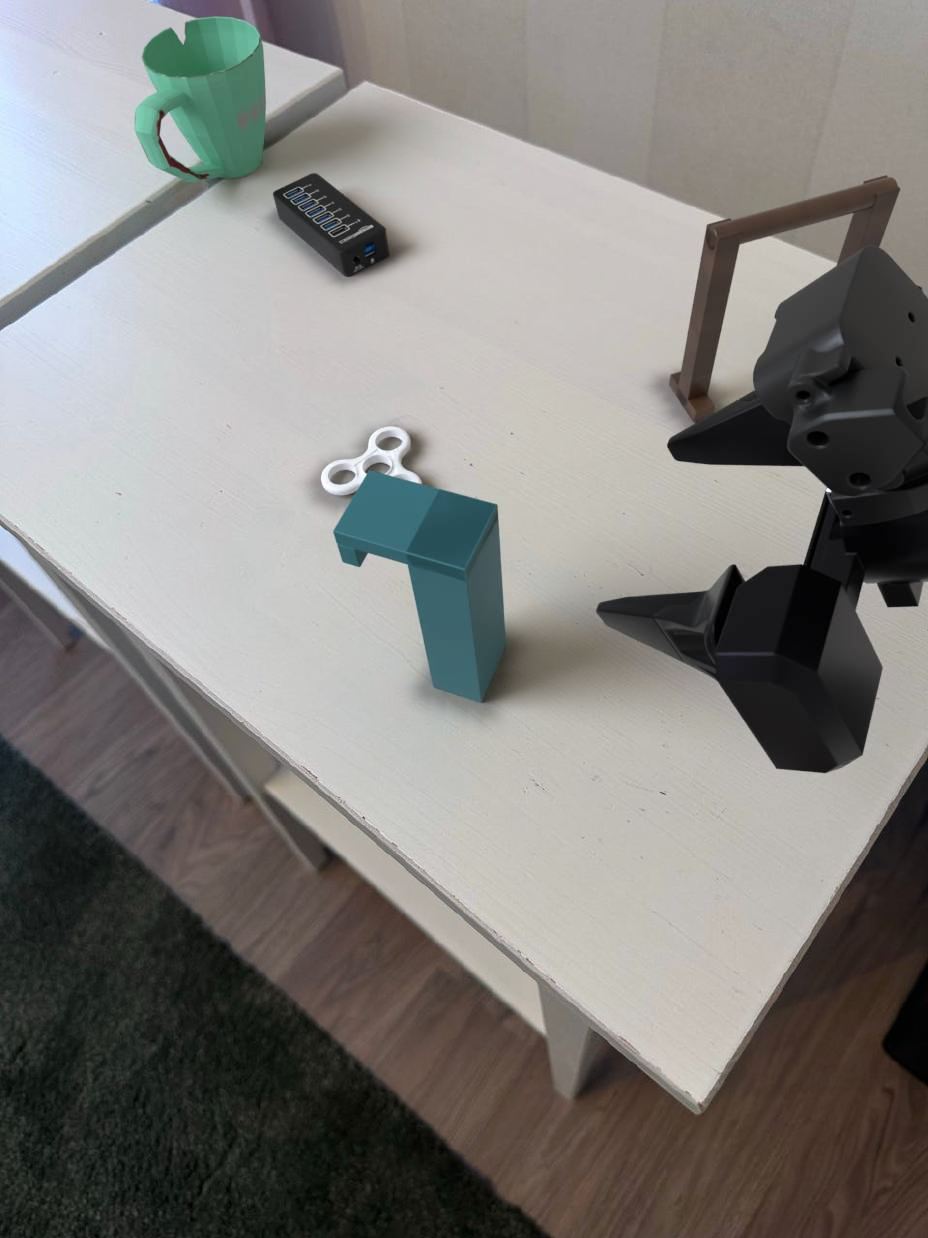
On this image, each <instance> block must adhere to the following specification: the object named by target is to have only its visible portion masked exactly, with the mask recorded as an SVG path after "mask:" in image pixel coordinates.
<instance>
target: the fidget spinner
mask: <svg viewBox="0 0 928 1238" xmlns="http://www.w3.org/2000/svg"><path fill="white" fill-rule="evenodd" d="M387 438H397V439H399V440H400V441H401V443H400V445H399V446H398V447H396V448H394V449H391V450H385V449H381V448H380V447H378V445H379V443H380V442H381V441H382V440H384V439H387ZM411 443H412V441H411V437H410V435H409V433H408V432H407V431H406V430H405V429H403V428H402V427H399V426H394V425H393V426H391V425H390V426H389V425H388V426H384V427H381V428H379V429H377V430H375V431H374V432H373V433H372V434H371V436H370V437H369V439H368V446H367V449H366V450H365V452H364V453H363V454H362V455H360V456H358V457H356V458H355V457H354V458H350V459H348V458H347V459H345V458H343V459H338V460H334V461H332V462H330V463H329V464H328V465H326V466H325V468H324V469H323V470H322V472H321V476H320V481H321V484H322V487H323V489H325V491H326V492H328V493H329V494H331V495H334V496H347V495H351V494H353V493H356V491H357V490H358V488H359V486H360V485H361V483H362V481H363V480H364V478H365V476H366V475H367V473H366V472H367V470H368V468H370V467H371V466H372V465H374V464H375V465H376V464H385V465H388V467H389V469H388V470H387V471H386V472H385V473H384V474H385V475H389V476H393V477H397V478H400V479H404V480H408V481H411V482H415V483H419V484H423V481H422V478H421V477H420V476H419V475H418V474H417V473H415V472H413V471H410V470H409V469H407V468H405V467H404V466H403V464H402V461H403V458H404V457H405V456H406V455H407V454H408V452H409V450H410V449H411V445H412V444H411ZM340 471H350V472H353V473H354V474H355V476H354V477H353V479H352V480H350V481H349V482H347V483H344V484H337V483H333V482H332V481H331V478H332V477H333V476H334V474H336V473H337V472H340Z"/></svg>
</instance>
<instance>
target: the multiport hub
mask: <svg viewBox="0 0 928 1238" xmlns="http://www.w3.org/2000/svg"><path fill="white" fill-rule="evenodd" d="M272 197H273V200H274V204H275V207H276V211H277V215H278V216H277V217H278V219H279V220H280V222H282V223H283V224H284V225H285V226H287V227H288V229H290V230H291V231H293V233H295V234H296V235H297V236H298V237H299V238H300V239H301V240H303V241H304V242H305V243H306V244H307V245H308V246H309V247H311V248H312V249H313V250H314V251H315V252H316V253H317V254H319V255H320V257H322V258H323V259H324V260H326V261H327V263H329V264H330V265H332V266H333V267H334V268H335V269H336V270H337V271H338V272H340V273H341V274H342V275H343V276H344V277H352V276H354V275H355V274H357V273H359V272H362V271H363V270H365V269H367V268H369V267H371V266H373V265H374V264H376V263H378V262H380V261H382V260H384V259H386V258H388V257H389V256H390V248H389V240H388V234H387V228H386V227H385V226H384V225H383V224H381V223H380V222H379V221H378V220H376V219H375V218H374V217H373V216H371V215H370V214H368V213H367V211H365V210H364V209H362V208H361V207H360V206H359V205H358V204H356V203H355V202H354V201H352V200H351V199H350V198H349V197H348V196H347V195H345V194H344V193H342V192H341V190H339V189H338V188H336V186H334V185H333V184H332V183H330V182H329V181H327V180H326V179H325V178H324V177H322V175H320V174H319V173H316V172H312V173H309V174H307V175H304V176H303V177H300V178H298V179H297V180H294V181H293V182H290V183H288V184H286V185H284V186H282V187H280V188H277V189H276V190H274V191H273V192H272Z"/></svg>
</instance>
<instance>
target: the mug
mask: <svg viewBox="0 0 928 1238" xmlns="http://www.w3.org/2000/svg"><path fill="white" fill-rule="evenodd" d="M184 36H185V38H184V41H183V43H182V41H181V39H180V38H179V36H178V34H177V33H176V32H175V30H174V29H173V28H172V27H171V26H170V27H167V28H165V29H163V30H162V31H160V32H158V33H157V34H156V35H155V36H153V37H151V39H150V40H149V41H148V42H147V44H145V46H144V47H143V50H142V54H141V61H142V64H143V66H144V68H145V71H146V73H147V75H148V78H149V80H150V82H151V84H152V85H153V87H154V88H155V91H156V92H154V93H153V94H150V95H148V96H147V97H146V98H144V99H143V100H142V102H140V103H139V104H138V105H137V106H136V107H135V109H134V125H133V126H134V132H135V135H136V137H137V139H138V140H139V143H140V145H141V147H142V149H143V152H144V153H145V156H146V158H147V160H148V162H149V163H150V164H151V165H152V166H154V167H155V168H156V169H158V170H160V171H163V172H165V173H167V174H169V175H171V176H174V177H177V178H178V179H180V180H183V181H185V182H187V183H191V184H195V183H196V184H197V183H200V182H204V181H208V180H212V179H216V178H220V179H227V180H230V179H231V180H233V179H240V178H243V177H246V176H249V175H250V174H252V173H254V172H255V171H257V170H258V169H259V168H260V166H261V164H262V163H263V162H262V161H263V152H264V144H265V136H266V135H265V133H266V114H267V94H266V93H267V91H266V71H265V55H264V53H265V52H264V45H263V40H262V35H261V34H260V31H259V30H258V27H257V26H254V25H253V24H252V23H250V22H248V21H246V20H244V19H240V18H236V17H232V16H216V15H215V16H207V17H198V18H194V19H190V20H186V21H185V23H184ZM168 114H170V116H171V118H172V120H173V122H174V123H175V125H176V127H177V128H178V130H179V132H180V133H181V134H182V137H184V139H185V140H186V142H187V143H188V144H189V146H190V147H191V149H192V150H193V152H194V153H195V154H196V155H197V157H198V158H199V159H200V160H201V162H202V163H203V164H199V165H198V164H197V165H194V166H193V165H192V166H189V167H188V166H186V165H184V164H183V163H181V162H180V161H179V160H177V159H176V158H175V157H174V156H172V155H171V154H170V153H169V152H168V150H167V148H166V146H165V144H164V141H163V139H162V137H161V126H162V120H163V119H164V118H165V117H166V116H167V115H168Z"/></svg>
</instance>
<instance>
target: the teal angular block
mask: <svg viewBox="0 0 928 1238" xmlns="http://www.w3.org/2000/svg"><path fill="white" fill-rule="evenodd" d="M366 474H367V475H366V476H365V478H364V480H363V481H362V483H361V485H360V486H359V488H358V490H357V491H355V492H354V495H353V496H352V498H351V500H350V502H349V503H348V505H347V506H346V508H345V510H344V512H343V514H342V515H341V517H340V518H339V520H338V522H337V524H336V525H335V526H334V529H333V531H332V533H333V536H334V539H335V542H336V544H337V545H336V546H337V549H338V553H339V556H340V558H341V562H342V563H344V564H347V565H349V566H350V565H351V566H354V567H356V568H361V567H362V565H363V563H364V562H365V560H366V558H367V556H368V554H370V555H373V556H377V557H381V558H384V559H387V560H390V561H394V562H397V563H401V564H404V565H407V569H408V574H409V578H410V583H411V587H412V592H413V597H414V601H415V607H416V611H417V616H418V621H419V625H420V631H421V635H422V640H423V645H424V650H425V654H426V660H427V663H428V669H429V673H430V678H431V683H432V687H433V688H435V689H438V690H441V691H443V692H448V693H450V694H453V695H456V696H459V697H463V698H465V699H469V700H472V701H473V702H474V701H475V702H477V703H480V704H481V703H483V700H484V698H485V696H486V693H487V691H488V689H489V687H490V684H491V682H492V680H493V678H494V675H495V673H496V671H497V668H498V666H499V664H500V661H501V659H502V657H503V654H504V652H505V650H506V648H507V637H506V623H505V622H506V621H505V619H506V618H505V606H504V605H505V603H504V589H503V588H504V587H503V573H502V571H503V570H502V558H501V557H502V556H501V539H500V538H501V537H500V523H499V522H500V521H499V506H498V504H497V503H494V502H490V501H486V500H483V499H479V498H475V497H472V496H468V495H464V494H460V493H457V492H453V491H450V490H446V489H443V488H438V487H433V486H430V485H426V484H423V483H422V484H419V483H415V482H411V481H408V480H404V479H400V478H397V477H393V476H389V475H385V473H381V472H378V471H374V470H368V472H367V473H366Z"/></svg>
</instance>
